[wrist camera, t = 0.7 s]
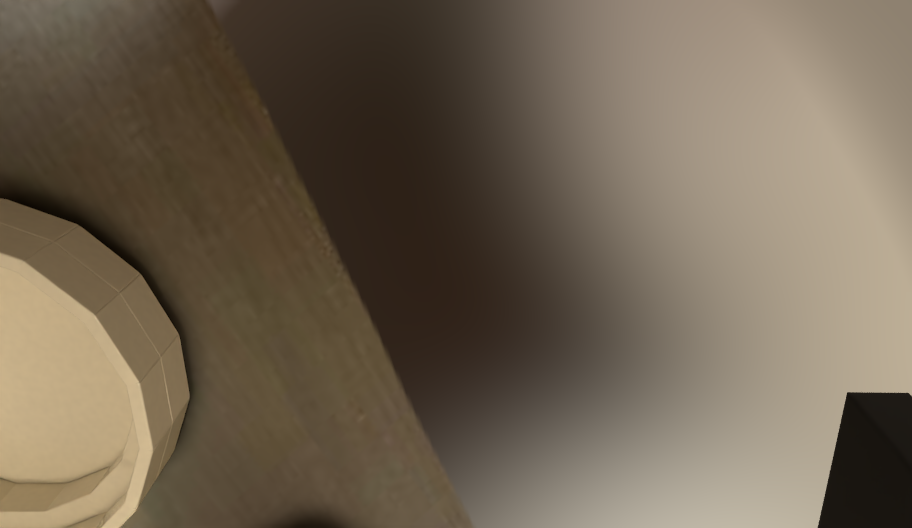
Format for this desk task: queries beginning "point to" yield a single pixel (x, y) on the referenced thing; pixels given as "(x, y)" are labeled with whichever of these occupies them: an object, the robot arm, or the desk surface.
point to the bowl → (80, 378)
